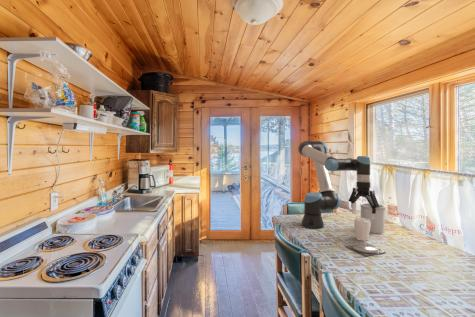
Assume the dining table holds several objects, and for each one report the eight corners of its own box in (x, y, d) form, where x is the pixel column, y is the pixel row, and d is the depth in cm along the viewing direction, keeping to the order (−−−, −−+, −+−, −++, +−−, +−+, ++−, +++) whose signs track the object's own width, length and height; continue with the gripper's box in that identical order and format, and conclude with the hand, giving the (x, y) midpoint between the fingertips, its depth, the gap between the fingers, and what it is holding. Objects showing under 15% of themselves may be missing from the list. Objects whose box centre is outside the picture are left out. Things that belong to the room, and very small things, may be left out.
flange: (345, 246, 139) (345, 243, 139) (363, 243, 144) (363, 240, 144) (365, 256, 126) (366, 253, 126) (385, 252, 130) (385, 250, 130)
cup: (372, 242, 146) (372, 222, 145) (355, 241, 147) (356, 221, 147) (367, 236, 154) (368, 218, 154) (352, 235, 156) (352, 217, 156)
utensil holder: (380, 235, 157) (380, 208, 156) (356, 229, 168) (356, 204, 167) (388, 230, 167) (388, 205, 166) (365, 225, 178) (365, 201, 177)
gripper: (343, 179, 160) (342, 211, 161) (376, 184, 137) (376, 222, 137) (352, 179, 163) (351, 210, 163) (386, 183, 139) (385, 220, 140)
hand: (362, 216), depth 150 cm, fingers open, 13 cm apart
